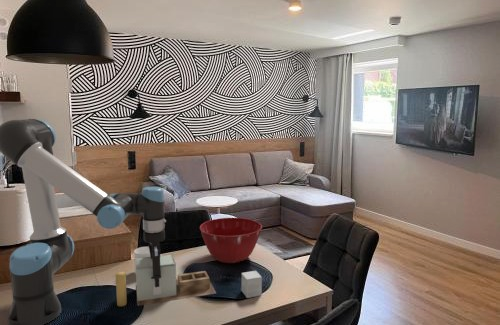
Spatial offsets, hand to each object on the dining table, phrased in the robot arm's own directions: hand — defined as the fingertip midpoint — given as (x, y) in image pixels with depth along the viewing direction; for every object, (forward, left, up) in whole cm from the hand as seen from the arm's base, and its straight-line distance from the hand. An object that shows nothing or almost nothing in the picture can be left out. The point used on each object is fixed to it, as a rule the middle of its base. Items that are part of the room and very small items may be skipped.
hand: (155, 287), depth 137 cm
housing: (0, 0, -2) cm, 2 cm away
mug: (-1, +19, -3) cm, 19 cm away
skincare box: (+34, -10, -3) cm, 36 cm away
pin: (-12, -5, -3) cm, 13 cm away
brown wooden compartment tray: (+7, 0, -3) cm, 7 cm away
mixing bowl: (+36, +25, -3) cm, 44 cm away
